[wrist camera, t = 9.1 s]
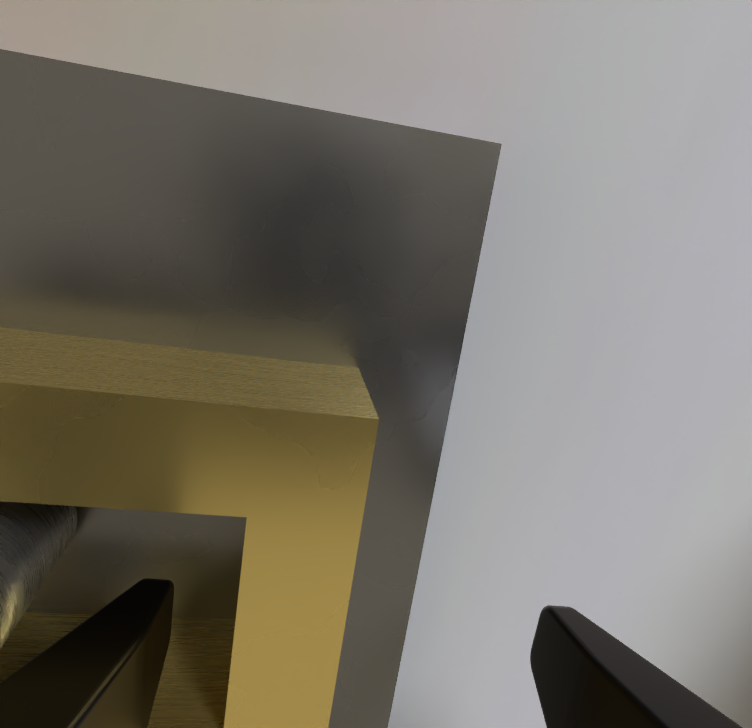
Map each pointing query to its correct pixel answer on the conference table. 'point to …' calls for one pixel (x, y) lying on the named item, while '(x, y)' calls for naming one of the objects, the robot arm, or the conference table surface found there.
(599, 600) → the conference table surface
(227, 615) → the keeper plate
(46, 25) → the conference table surface
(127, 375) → the yellow rectangular frame
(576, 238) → the conference table surface
